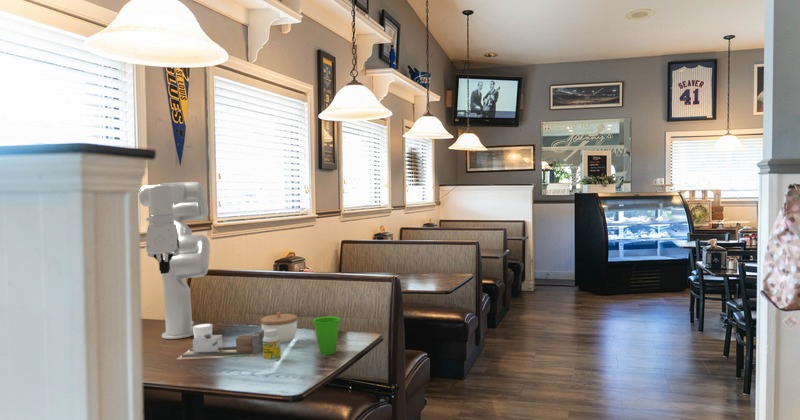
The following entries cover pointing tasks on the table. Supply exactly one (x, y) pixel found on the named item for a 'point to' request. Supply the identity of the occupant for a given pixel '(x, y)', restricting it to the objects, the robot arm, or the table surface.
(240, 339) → the walnut block
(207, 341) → the knobbed grey slider
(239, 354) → the gauge bed
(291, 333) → the lidded bowl
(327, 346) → the cup
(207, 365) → the table surface
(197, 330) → the shot glass
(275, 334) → the supplement bottle
